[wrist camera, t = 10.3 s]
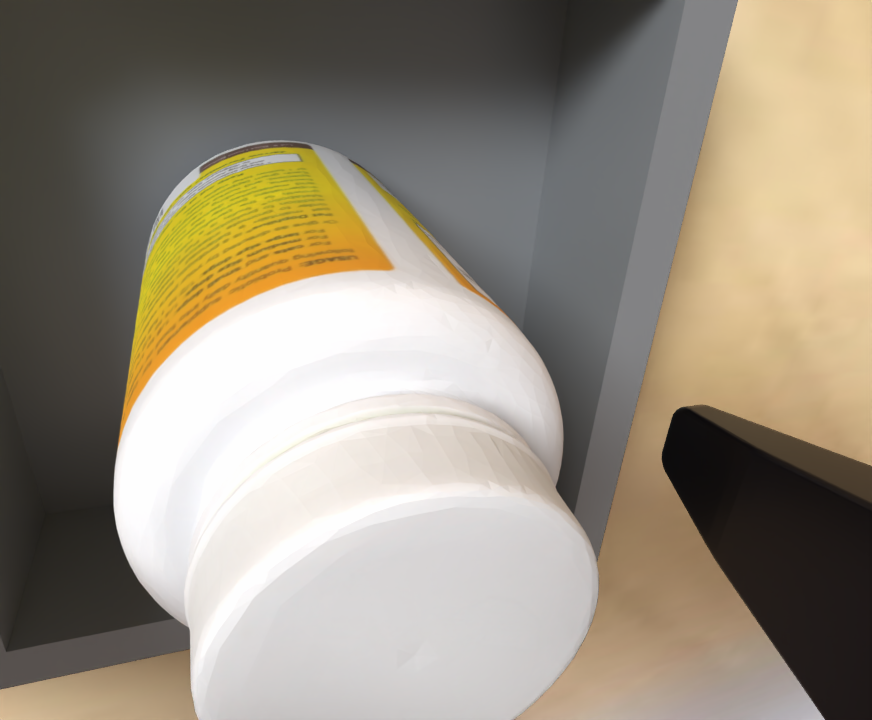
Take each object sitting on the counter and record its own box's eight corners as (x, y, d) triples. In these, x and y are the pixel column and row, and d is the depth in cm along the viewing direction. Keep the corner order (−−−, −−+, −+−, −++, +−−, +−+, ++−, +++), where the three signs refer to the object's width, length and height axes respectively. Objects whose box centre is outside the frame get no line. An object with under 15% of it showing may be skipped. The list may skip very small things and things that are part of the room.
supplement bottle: (113, 333, 14) (-5, 864, 6) (200, 83, 12) (218, 309, 4) (347, 397, 17) (507, 823, 8) (446, 198, 15) (777, 482, 6)
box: (524, 457, 20) (596, 561, 17) (13, 535, 16) (-40, 697, 13) (609, -79, 14) (763, -102, 10) (-226, -179, 10) (-496, -281, 6)
